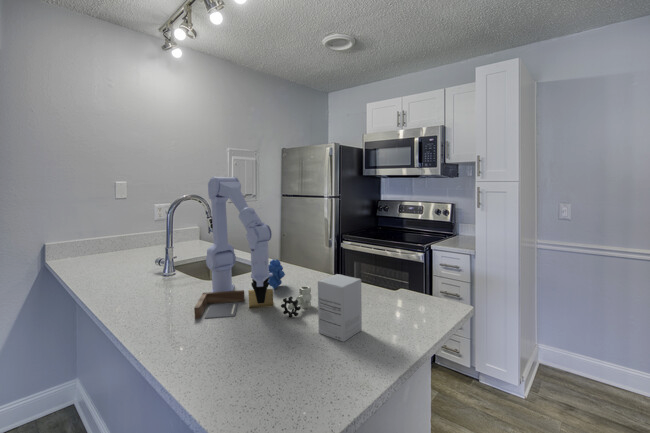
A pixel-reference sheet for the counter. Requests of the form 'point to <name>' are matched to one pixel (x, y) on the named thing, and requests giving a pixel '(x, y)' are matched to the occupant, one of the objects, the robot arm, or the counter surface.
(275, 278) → the grapes
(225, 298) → the corner walls
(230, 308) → the mat
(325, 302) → the supplement box
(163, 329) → the counter surface
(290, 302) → the valve
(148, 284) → the counter surface
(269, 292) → the bronze bracket
